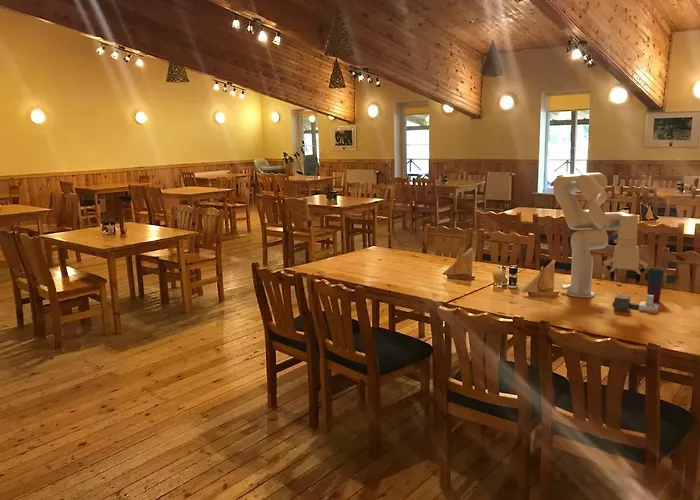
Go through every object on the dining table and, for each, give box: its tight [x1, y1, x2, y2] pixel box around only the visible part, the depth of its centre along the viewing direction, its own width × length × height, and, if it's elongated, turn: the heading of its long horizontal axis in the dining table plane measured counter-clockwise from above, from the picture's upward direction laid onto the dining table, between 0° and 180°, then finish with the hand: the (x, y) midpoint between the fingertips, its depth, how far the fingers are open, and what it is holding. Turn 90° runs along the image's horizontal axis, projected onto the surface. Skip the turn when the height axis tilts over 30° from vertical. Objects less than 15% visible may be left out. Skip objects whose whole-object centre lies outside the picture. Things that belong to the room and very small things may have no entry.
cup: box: [646, 267, 665, 303], centre depth 272 cm, size 7×7×15 cm
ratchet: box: [612, 294, 660, 314], centre depth 262 cm, size 18×7×6 cm, turn 57°
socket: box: [613, 294, 632, 313], centre depth 259 cm, size 6×6×6 cm
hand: (625, 281), depth 256 cm, fingers open, 9 cm apart
